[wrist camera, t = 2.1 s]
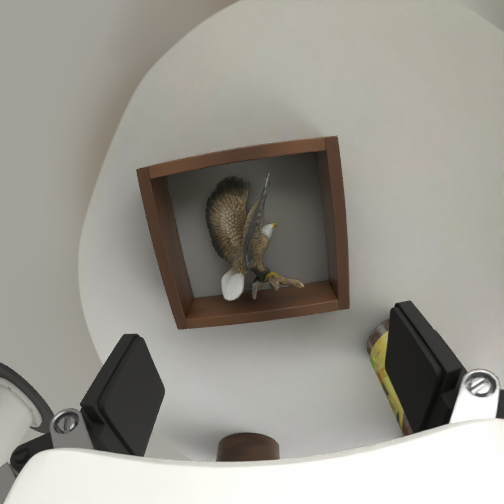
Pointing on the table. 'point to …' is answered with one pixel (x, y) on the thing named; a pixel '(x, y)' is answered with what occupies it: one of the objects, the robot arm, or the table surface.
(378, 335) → the sauce bottle
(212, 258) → the table surface
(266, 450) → the stand
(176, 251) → the crate
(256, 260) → the eagle figurine
